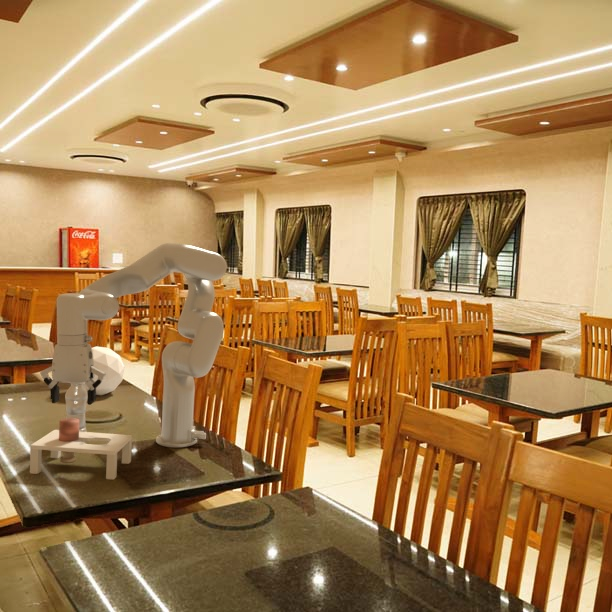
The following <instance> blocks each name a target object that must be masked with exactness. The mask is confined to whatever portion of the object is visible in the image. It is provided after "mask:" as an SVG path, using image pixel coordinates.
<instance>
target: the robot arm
mask: <svg viewBox="0 0 612 612" xmlns="http://www.w3.org/2000/svg"><path fill="white" fill-rule="evenodd" d="M227 269H228V266H227V261H226V259H225V258H224V257H223V256H222V255H221V254H219V253H217V252H214V251H210V250H207V249H203V248H200V247H197V246H194V245H189V244H186V243H176V242H175V243H173V242H168V243H162V244H160V245H158V246H157V247H156V248H154V249H152V250H151V251H149V252H148V253H146V254H144V256H142V257H140V258H139V259H137V260H136V261H134V262H132V263H131V264H130V265H128V266H125V267H123V268H120V269H119V270H116V271H113V272H111V273H109V274H108V273H107V274H106V275H104V276H102V277H100V278H98V279H97V280H95V281H93V282H92V283H90V284H88V285H87V286H85V287H84V288H82V289H81V290H80V291H79V292H77V293H71V292H69V293H62V294H59V295H58V296H57V298H56V332H57V333H56V336H57V337H56V338H57V339H56V340H57V341H56V342H57V344H55V345H54V349H53V355H52V360H51V361H52V363H51V366H49V367H47V368H45V369H43V370H41V371H40V374H39V375H40V376H41V377H42V380H43V382H44V384H46V385H47V386H48V389H50V392H49V393H50V400H51V403H52V404H56V403H58V402H59V401H60V386H59V385H58V384H60V383H67V384H68V383H69V384H70V383H85V384H86V385H87V386H88V388H89V390H88V391H87V394H88V399H87V405H89V406H90V405H92V404H94V403H95V401H97V395H96V388H97V387H98V386H99V385H100V384H101V383H102V381H103V379H104V377H105V375H106V373H104V372H103V371H101V370H99V369H97V368H95V367H94V359H93V352H92V348H93V347H92V345H91V344H90V342H93V336H92V335H89V333H88V320H94V321H107V320H110V319H113V318H114V317H115V316H117V314H118V312H119V311H120V303H119V300H118V298H120V297H122V296H127V295H133V294H137V293H138V294H139V293H142V292H145V291H148V290H149V289H151V288H152V287H153V286H154V285H156V284H157V283H159V282H161V281H162V280H163V279H165V278H166V277H168V276H169V275H170V274H172V273H179V274H183V275H184V278H185V280H186V282H187V287H188V288H187V289H188V291H187V294H186V295H187V296H186V299H185V302H184V305H183V308H182V311H181V313H180V316H179V319H178V320H177V321H178V322H177V327H176V328H177V331H178V333H179V335H181V336H182V337H184V338H186V339H190V340H192V343H191V342H186V341H183V340H182V341H181V340H178V341H177V340H176V341H175V340H174V341H172V342H169V343H168V344H167V345H166V346H165V347H164V349H163V350H162V354H161V366H162V375H163V393H162V413H161V415H162V417H161V433H160V434H159V435H157V436H156V438H155V443H157V444H158V445H159V446H162V447H166V448H187V447H190V446H193V445H196V443H197V442H198V439H200V440H206V438H207V433H206V432H204V430H197V429H196V425H194V410H195V409H194V408H195V394H196V393H195V392H196V391H195V388H196V387H195V386H196V384H195V379H194V378H202V377H204V376H206V375H207V374H208V373H209V372H210V370H211V369H212V367H213V365H214V362H215V359H216V357H217V354H218V351H219V348H220V346H221V343H222V338H223V336H224V332H225V331H224V330H225V329H224V327H225V326H224V321H223V319H222V317H221V316H220V315H218V314H217V313H216V312H215V311H214V312H213V311H212V309H213V306H214V302H215V297H216V292H215V286H214V283H213V282H216V281H219V280H221V279H222V278H223V277H224V276H225V275H226V273H227ZM49 373H51V377H50V375H49ZM95 374H96V375H97V376H98V379H97V381H96V382H95V381H94V380H93V378H94V376H95Z"/></svg>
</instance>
